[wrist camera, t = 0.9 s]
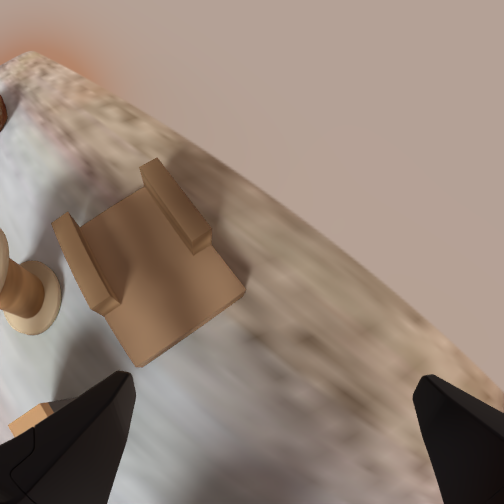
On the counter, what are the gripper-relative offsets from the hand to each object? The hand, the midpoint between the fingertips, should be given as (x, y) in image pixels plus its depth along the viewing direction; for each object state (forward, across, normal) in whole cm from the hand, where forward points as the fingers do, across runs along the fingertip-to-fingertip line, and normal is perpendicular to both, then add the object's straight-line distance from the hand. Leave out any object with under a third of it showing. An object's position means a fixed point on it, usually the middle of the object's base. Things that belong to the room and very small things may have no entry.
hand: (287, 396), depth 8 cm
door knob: (+11, +18, +4) cm, 22 cm away
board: (+14, +8, +2) cm, 16 cm away
